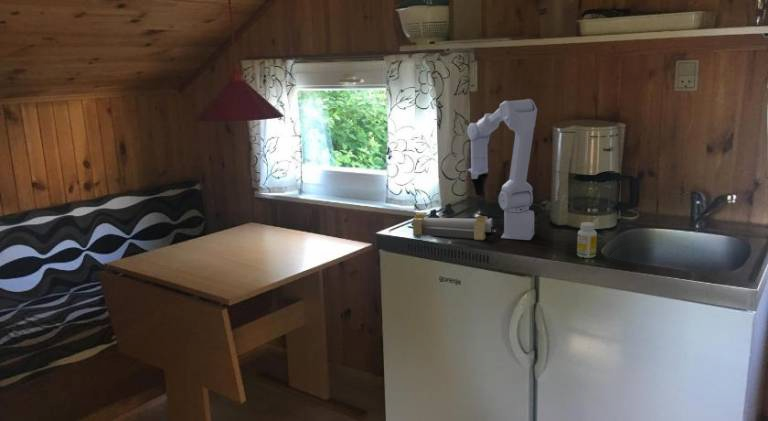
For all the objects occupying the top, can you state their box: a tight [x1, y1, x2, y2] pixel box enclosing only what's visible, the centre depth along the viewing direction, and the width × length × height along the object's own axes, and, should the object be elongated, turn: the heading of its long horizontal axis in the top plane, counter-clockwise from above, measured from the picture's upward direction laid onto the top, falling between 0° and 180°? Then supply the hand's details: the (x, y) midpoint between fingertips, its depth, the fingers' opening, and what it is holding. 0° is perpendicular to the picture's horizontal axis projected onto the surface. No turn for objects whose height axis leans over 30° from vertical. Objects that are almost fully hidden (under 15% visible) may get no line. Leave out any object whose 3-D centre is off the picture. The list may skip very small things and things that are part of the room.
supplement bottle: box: [576, 221, 598, 259], centre depth 186 cm, size 5×5×10 cm
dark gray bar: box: [422, 226, 474, 240], centre depth 212 cm, size 24×2×2 cm, turn 67°
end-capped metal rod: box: [412, 211, 488, 241], centre depth 212 cm, size 24×6×6 cm, turn 67°
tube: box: [424, 217, 494, 232], centre depth 216 cm, size 5×5×25 cm
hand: (479, 194), depth 227 cm, fingers closed
